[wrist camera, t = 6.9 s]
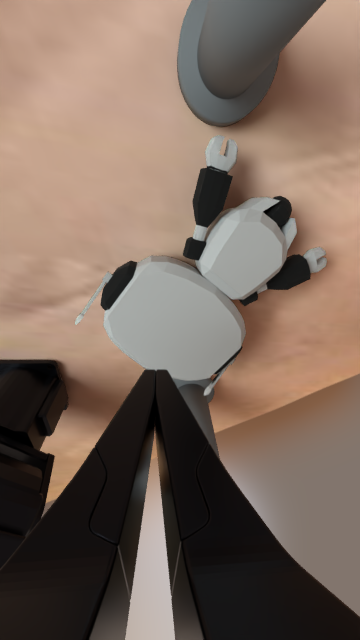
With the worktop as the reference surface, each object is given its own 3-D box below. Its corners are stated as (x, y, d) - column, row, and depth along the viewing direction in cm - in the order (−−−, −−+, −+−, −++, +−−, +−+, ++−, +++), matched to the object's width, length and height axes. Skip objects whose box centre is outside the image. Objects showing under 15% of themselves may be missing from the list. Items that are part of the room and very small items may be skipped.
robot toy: (205, 129, 14) (83, 305, 19) (226, 101, 10) (65, 333, 15) (312, 253, 19) (194, 371, 23) (356, 267, 15) (203, 406, 19)
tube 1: (164, 402, 25) (166, 512, 17) (166, 368, 23) (169, 478, 14) (209, 401, 26) (232, 508, 17) (214, 368, 23) (246, 475, 15)
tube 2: (175, 122, 13) (200, 4, 5) (180, -16, 11) (257, -861, 2) (257, 130, 14) (422, 36, 5) (281, -1, 11) (694, -642, 2)
